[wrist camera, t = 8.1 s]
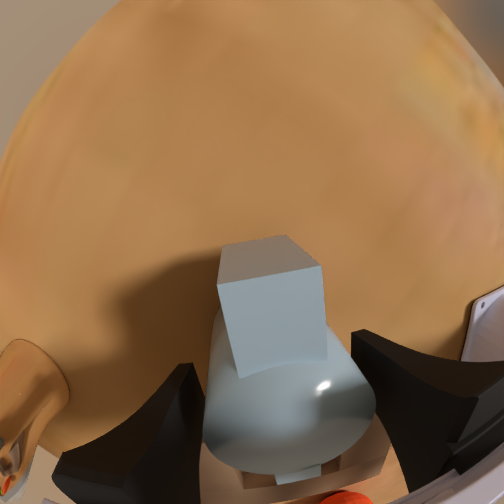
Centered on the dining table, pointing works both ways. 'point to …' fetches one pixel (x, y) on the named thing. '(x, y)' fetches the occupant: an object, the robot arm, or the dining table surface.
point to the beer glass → (25, 411)
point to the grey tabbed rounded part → (279, 367)
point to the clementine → (347, 498)
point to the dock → (267, 491)
